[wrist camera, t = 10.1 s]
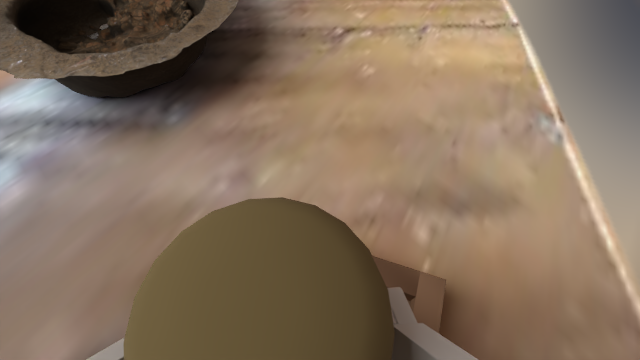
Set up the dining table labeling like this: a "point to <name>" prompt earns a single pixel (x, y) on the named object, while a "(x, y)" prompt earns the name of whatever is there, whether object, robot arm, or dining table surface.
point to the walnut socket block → (416, 291)
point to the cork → (263, 290)
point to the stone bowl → (106, 41)
